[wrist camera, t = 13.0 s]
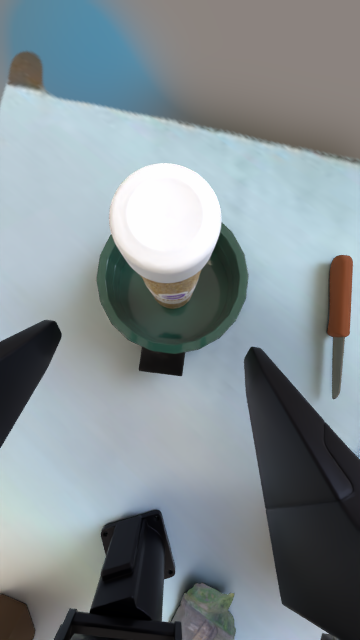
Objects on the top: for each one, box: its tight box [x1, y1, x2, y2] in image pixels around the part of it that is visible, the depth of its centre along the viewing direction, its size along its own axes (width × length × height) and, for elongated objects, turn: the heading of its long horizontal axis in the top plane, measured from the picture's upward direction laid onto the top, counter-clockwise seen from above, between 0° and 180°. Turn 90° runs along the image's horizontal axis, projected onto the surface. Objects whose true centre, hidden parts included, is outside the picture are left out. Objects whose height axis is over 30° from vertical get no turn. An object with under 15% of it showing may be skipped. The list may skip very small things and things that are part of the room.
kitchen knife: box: [327, 255, 353, 399], centre depth 20 cm, size 16×1×2 cm, turn 175°
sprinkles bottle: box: [109, 163, 221, 309], centre depth 14 cm, size 5×5×13 cm
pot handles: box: [139, 347, 185, 376], centre depth 18 cm, size 18×4×1 cm, turn 173°
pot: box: [97, 222, 248, 354], centre depth 19 cm, size 14×14×4 cm
